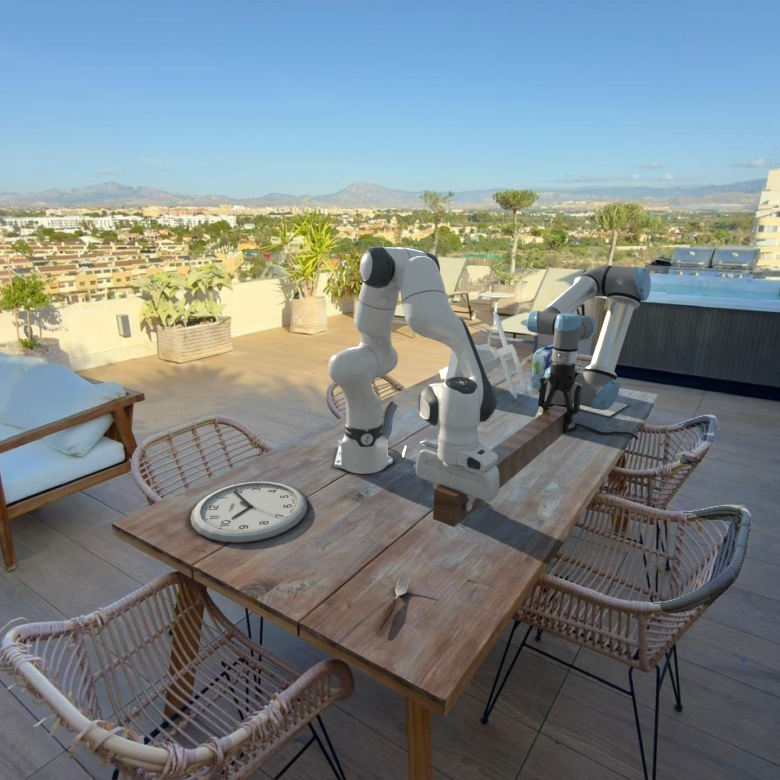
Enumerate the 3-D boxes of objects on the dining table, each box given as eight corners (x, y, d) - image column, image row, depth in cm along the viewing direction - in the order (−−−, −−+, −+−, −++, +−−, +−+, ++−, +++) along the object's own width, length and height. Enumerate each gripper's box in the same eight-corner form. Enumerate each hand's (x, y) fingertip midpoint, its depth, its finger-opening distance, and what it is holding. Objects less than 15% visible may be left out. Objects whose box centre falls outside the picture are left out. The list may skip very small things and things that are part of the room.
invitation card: (608, 416, 214) (573, 407, 224) (608, 416, 214) (573, 408, 224) (628, 404, 229) (594, 396, 238) (628, 405, 229) (594, 397, 238)
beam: (552, 426, 179) (554, 404, 177) (568, 429, 176) (571, 408, 174) (432, 519, 120) (434, 489, 118) (454, 527, 117) (455, 496, 114)
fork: (373, 630, 99) (373, 621, 98) (400, 579, 113) (400, 571, 112) (386, 633, 98) (386, 625, 97) (412, 582, 112) (412, 574, 112)
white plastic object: (461, 429, 252) (437, 405, 227) (444, 352, 274) (420, 323, 250) (535, 404, 240) (518, 377, 215) (510, 326, 262) (492, 293, 237)
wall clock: (302, 534, 126) (174, 538, 123) (303, 540, 126) (175, 544, 124) (310, 477, 154) (206, 479, 152) (310, 482, 155) (206, 484, 152)
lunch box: (547, 395, 239) (552, 351, 233) (526, 390, 247) (530, 347, 240) (574, 384, 257) (579, 343, 251) (554, 380, 264) (558, 339, 258)
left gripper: (411, 442, 120) (409, 496, 124) (491, 467, 109) (487, 525, 113) (426, 434, 125) (424, 486, 129) (505, 457, 113) (500, 513, 118)
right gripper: (530, 360, 169) (524, 426, 177) (589, 369, 159) (579, 440, 166) (540, 355, 175) (533, 420, 182) (597, 365, 164) (587, 433, 171)
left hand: (454, 504), depth 121 cm, fingers closed on beam, 5 cm apart
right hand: (555, 429), depth 174 cm, fingers closed on beam, 6 cm apart
